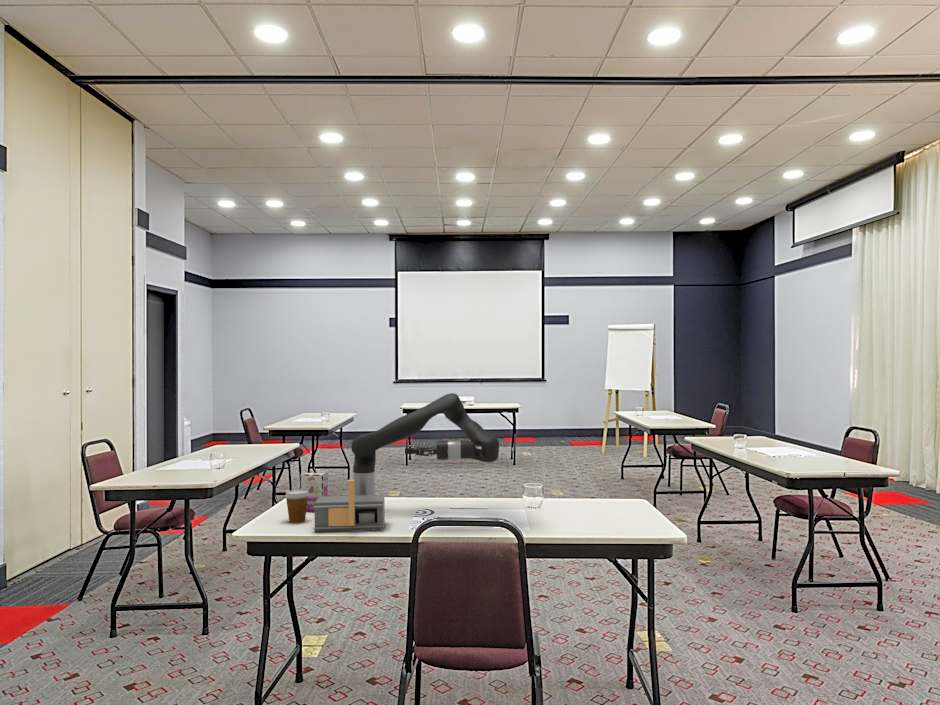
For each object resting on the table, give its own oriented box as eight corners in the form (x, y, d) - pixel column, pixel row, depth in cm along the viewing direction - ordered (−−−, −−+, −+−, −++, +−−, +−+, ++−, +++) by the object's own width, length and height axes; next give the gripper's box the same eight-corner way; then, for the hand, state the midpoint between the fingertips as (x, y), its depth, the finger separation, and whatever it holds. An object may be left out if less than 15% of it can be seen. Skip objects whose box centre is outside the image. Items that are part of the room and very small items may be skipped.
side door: (328, 525, 251) (328, 479, 252) (355, 525, 252) (354, 478, 252) (327, 528, 248) (327, 481, 248) (354, 527, 248) (353, 480, 248)
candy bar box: (328, 510, 288) (328, 472, 288) (323, 512, 283) (322, 474, 283) (306, 509, 291) (306, 472, 291) (300, 511, 286) (299, 473, 286)
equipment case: (319, 523, 263) (319, 496, 263) (384, 522, 265) (384, 494, 265) (313, 532, 250) (313, 504, 250) (382, 530, 251) (382, 502, 251)
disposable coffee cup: (284, 519, 271) (284, 490, 272) (307, 517, 275) (307, 488, 275) (286, 524, 262) (286, 494, 263) (310, 522, 266) (310, 493, 266)
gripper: (448, 438, 266) (405, 439, 265) (449, 442, 253) (404, 443, 251) (448, 456, 266) (405, 458, 265) (449, 462, 253) (404, 463, 251)
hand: (404, 451), depth 258 cm, fingers closed
